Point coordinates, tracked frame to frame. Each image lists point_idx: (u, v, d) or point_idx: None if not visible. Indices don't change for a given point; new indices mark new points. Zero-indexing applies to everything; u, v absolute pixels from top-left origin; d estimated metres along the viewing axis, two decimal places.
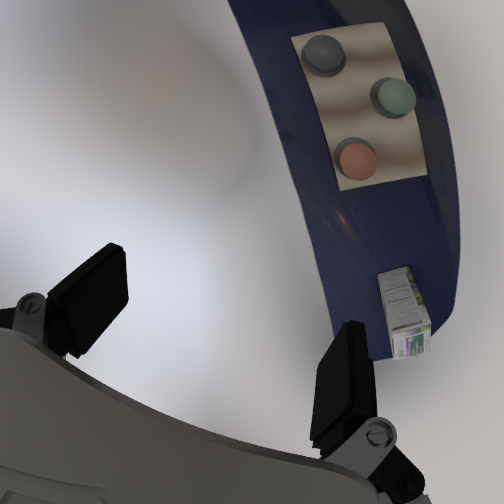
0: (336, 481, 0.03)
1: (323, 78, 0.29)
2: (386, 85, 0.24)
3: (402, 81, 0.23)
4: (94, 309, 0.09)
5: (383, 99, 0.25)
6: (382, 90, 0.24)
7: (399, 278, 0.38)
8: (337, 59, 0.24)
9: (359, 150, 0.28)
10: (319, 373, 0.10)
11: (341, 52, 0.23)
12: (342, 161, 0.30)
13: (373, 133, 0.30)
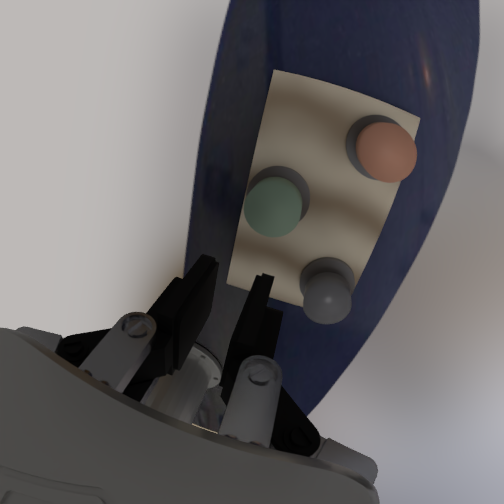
0: (336, 481, 0.03)
1: (346, 261, 0.26)
2: (281, 232, 0.21)
3: (254, 227, 0.22)
4: (194, 323, 0.10)
5: (298, 217, 0.21)
6: (292, 228, 0.21)
7: None
8: (321, 290, 0.23)
9: (378, 169, 0.17)
10: None
11: (310, 294, 0.24)
12: (410, 169, 0.17)
13: (332, 163, 0.22)
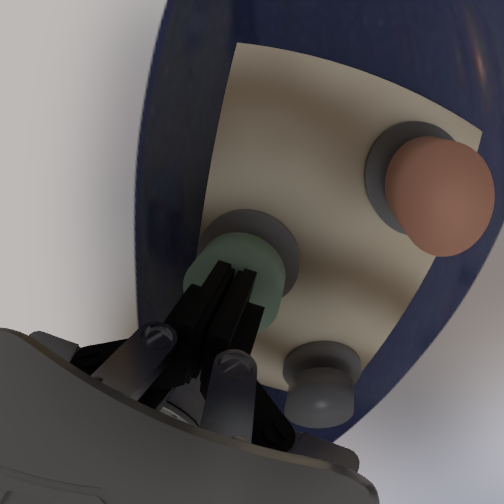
0: (336, 481, 0.03)
1: (351, 345, 0.17)
2: None
3: None
4: None
5: (276, 310, 0.12)
6: (265, 326, 0.12)
7: None
8: (311, 399, 0.14)
9: (429, 233, 0.08)
10: None
11: (294, 403, 0.14)
12: (479, 232, 0.08)
13: (339, 205, 0.13)
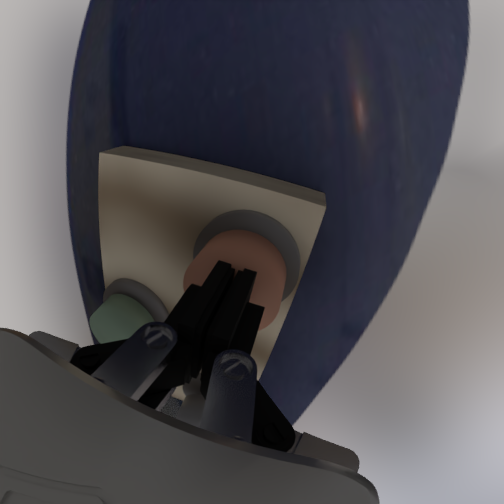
0: (336, 481, 0.03)
1: None
2: None
3: None
4: None
5: None
6: None
7: None
8: (188, 418, 0.18)
9: None
10: None
11: (178, 418, 0.18)
12: (269, 319, 0.12)
13: None
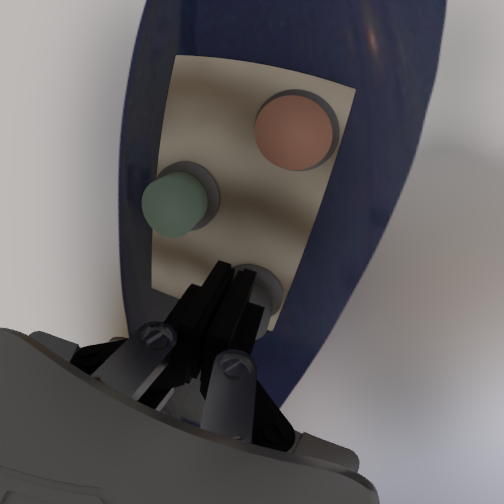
0: (336, 481, 0.03)
1: (270, 269, 0.23)
2: (179, 232, 0.19)
3: (154, 227, 0.19)
4: None
5: (194, 215, 0.18)
6: (189, 228, 0.19)
7: None
8: None
9: (280, 154, 0.15)
10: None
11: None
12: (323, 152, 0.14)
13: (241, 154, 0.19)
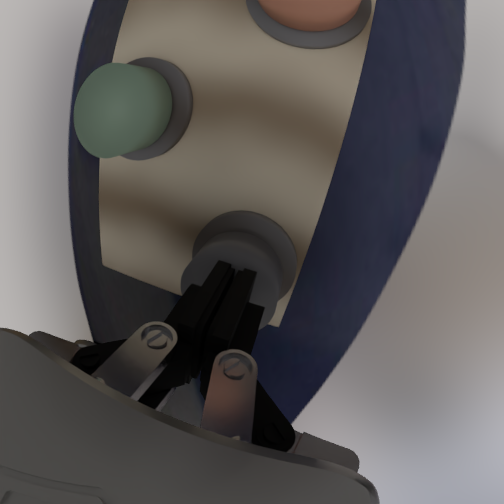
0: (336, 481, 0.03)
1: (275, 217, 0.14)
2: (121, 145, 0.10)
3: (87, 146, 0.10)
4: None
5: (144, 109, 0.09)
6: (136, 134, 0.10)
7: None
8: (206, 263, 0.11)
9: None
10: None
11: (188, 273, 0.12)
12: None
13: (227, 35, 0.10)
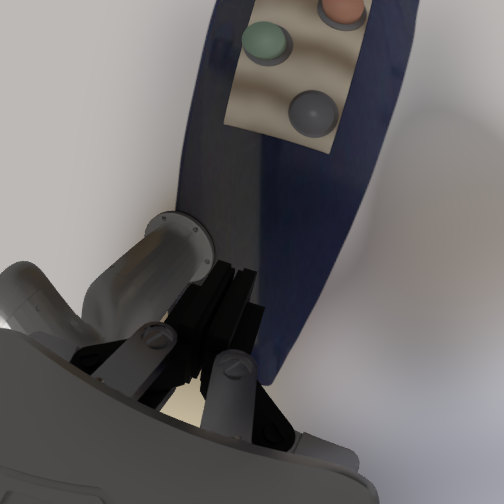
0: (336, 481, 0.03)
1: (328, 94, 0.26)
2: (270, 52, 0.22)
3: (249, 51, 0.23)
4: None
5: (282, 41, 0.22)
6: (278, 49, 0.22)
7: None
8: (305, 98, 0.24)
9: (337, 10, 0.18)
10: None
11: (296, 102, 0.25)
12: (360, 11, 0.17)
13: (308, 21, 0.22)
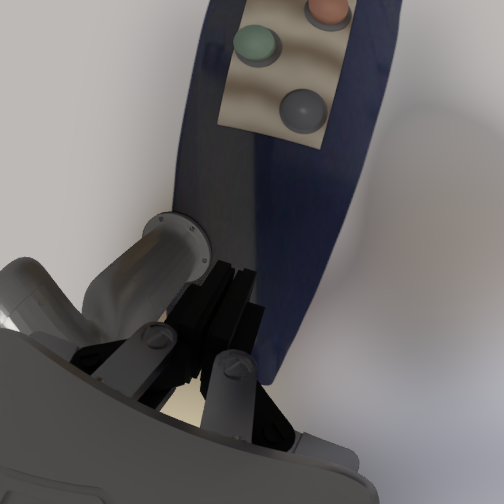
0: (336, 481, 0.03)
1: (317, 92, 0.27)
2: (260, 53, 0.24)
3: (240, 53, 0.24)
4: None
5: (271, 42, 0.23)
6: (267, 50, 0.23)
7: None
8: (295, 96, 0.25)
9: (323, 11, 0.20)
10: None
11: (286, 100, 0.26)
12: (345, 11, 0.19)
13: (296, 23, 0.23)
